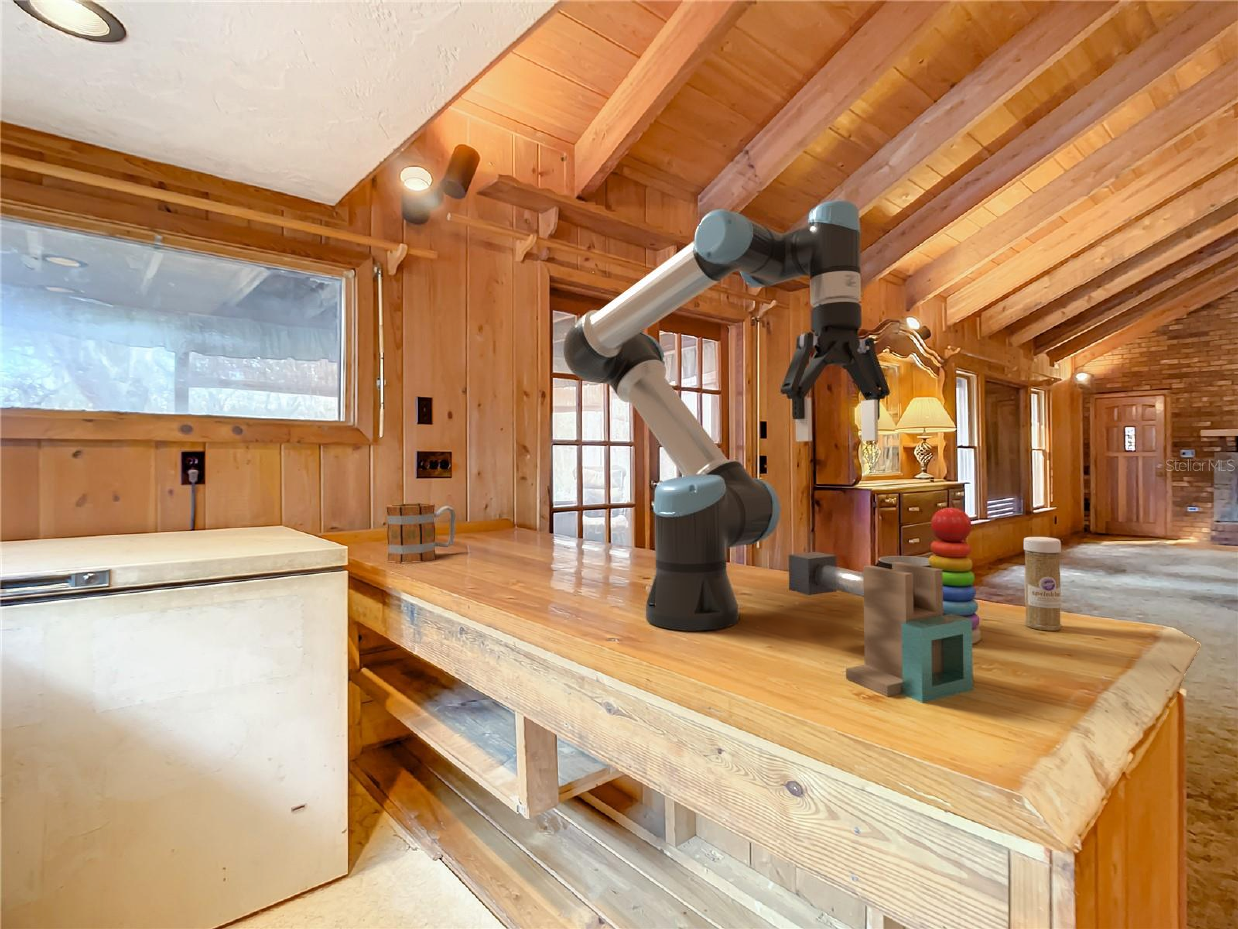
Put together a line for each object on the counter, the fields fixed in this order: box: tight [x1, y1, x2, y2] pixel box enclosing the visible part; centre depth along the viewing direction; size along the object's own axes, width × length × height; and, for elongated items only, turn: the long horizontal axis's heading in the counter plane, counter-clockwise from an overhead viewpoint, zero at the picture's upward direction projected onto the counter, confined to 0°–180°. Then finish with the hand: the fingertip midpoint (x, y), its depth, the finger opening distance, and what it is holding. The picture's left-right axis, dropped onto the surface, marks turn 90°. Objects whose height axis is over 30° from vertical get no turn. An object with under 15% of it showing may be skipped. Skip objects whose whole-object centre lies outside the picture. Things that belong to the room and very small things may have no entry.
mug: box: [386, 502, 456, 562], centre depth 168 cm, size 20×14×15 cm
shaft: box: [788, 551, 915, 600], centre depth 78 cm, size 18×5×5 cm, turn 24°
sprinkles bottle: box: [1023, 536, 1062, 632], centre depth 90 cm, size 5×5×14 cm
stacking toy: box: [929, 507, 982, 645], centre depth 86 cm, size 8×8×19 cm
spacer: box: [902, 614, 974, 704], centre depth 67 cm, size 2×8×8 cm, turn 114°
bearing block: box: [845, 562, 943, 697], centre depth 71 cm, size 6×12×13 cm, turn 114°
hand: (837, 441), depth 94 cm, fingers open, 13 cm apart
